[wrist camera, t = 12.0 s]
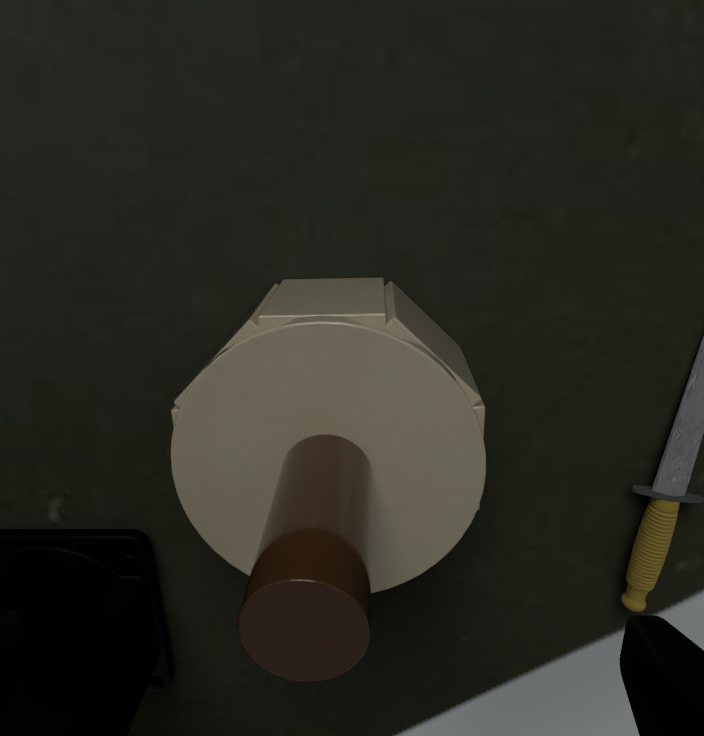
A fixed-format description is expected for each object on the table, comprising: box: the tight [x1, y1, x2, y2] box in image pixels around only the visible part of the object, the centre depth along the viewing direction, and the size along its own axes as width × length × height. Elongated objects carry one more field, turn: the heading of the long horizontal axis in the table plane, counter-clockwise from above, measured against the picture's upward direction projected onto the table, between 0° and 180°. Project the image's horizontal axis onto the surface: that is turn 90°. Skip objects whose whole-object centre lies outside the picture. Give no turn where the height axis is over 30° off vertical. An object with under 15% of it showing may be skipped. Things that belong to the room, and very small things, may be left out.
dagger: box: [621, 336, 704, 612], centre depth 16 cm, size 11×1×2 cm
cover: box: [171, 278, 486, 682], centre depth 13 cm, size 7×7×8 cm
